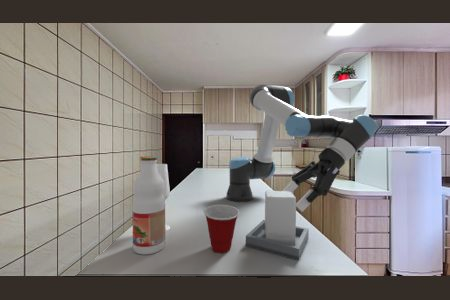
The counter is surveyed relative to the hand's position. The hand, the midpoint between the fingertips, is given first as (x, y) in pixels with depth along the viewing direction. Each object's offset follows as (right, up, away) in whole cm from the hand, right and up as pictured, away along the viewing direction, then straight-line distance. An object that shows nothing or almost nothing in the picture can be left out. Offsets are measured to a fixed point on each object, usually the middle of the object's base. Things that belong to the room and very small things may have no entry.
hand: (289, 201), depth 69 cm
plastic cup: (-22, -14, -4) cm, 26 cm away
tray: (-3, -13, +1) cm, 14 cm away
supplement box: (-3, -12, 0) cm, 13 cm away
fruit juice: (-44, -13, -3) cm, 46 cm away
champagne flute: (-45, -13, +11) cm, 48 cm away
